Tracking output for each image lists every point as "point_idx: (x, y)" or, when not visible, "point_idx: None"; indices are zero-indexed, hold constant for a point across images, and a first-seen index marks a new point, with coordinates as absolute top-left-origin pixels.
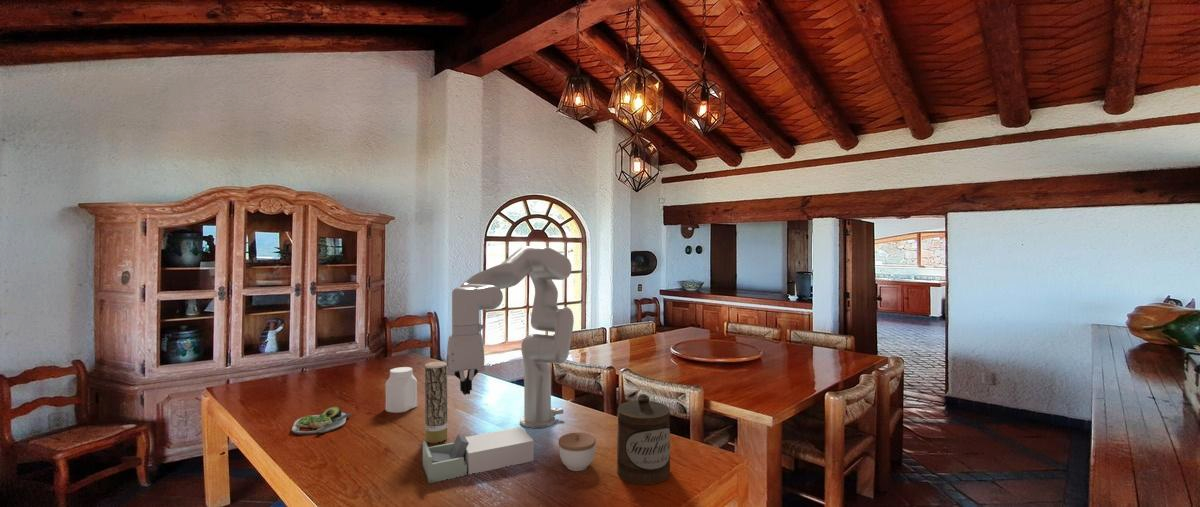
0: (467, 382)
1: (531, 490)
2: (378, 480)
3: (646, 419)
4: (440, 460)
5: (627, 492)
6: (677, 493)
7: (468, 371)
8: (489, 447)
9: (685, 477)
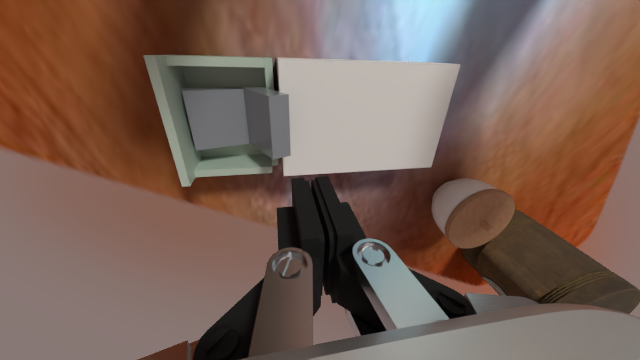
0: (324, 289)
1: None
2: (59, 92)
3: None
4: (217, 142)
5: (443, 267)
6: (476, 279)
7: (383, 313)
8: (336, 163)
9: None
